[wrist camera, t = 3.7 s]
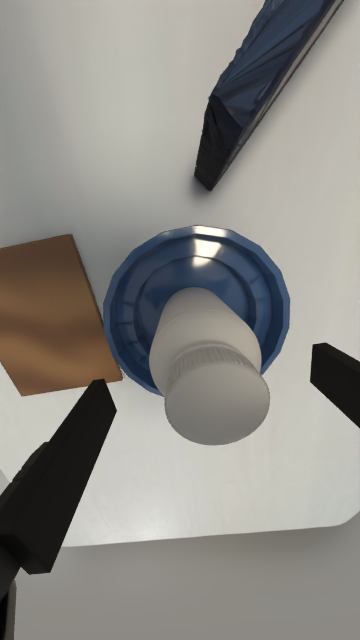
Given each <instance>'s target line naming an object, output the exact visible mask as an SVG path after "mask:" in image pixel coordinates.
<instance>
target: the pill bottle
mask: <svg viewBox="0 0 360 640" xmlns="http://www.w3.org/2000/svg"><path fill="white" fill-rule="evenodd" d="M149 365H150V371H151V375H152V378H153V381H154V383H155V385H156V386H157V388H158V390H159V391H160V392H161V393H162V395H163V396H164V397H165V411H166V415H167V419H168V421H169V423H170V424H171V426H172V427H173V428H174V429H175V431H176V432H177V433H179V434H180V435H181V436H183V437H184V438H186V439H188V440H190V441H192V442H195V443H199V444H203V445H224V444H229V443H233V442H236V441H238V440H241V439H243V438H245V437H246V436H248V435H250V434H251V433H252V432H254V431H255V430H256V429H257V428H258V427H259V426H260V425H261V423H262V422H263V421H264V419H265V417H266V415H267V413H268V410H269V405H270V396H269V395H270V393H269V389H268V386H267V384H266V382H265V380H264V379H263V377H262V376H261V374H260V369H261V351H260V347H259V343H258V340H257V338H256V336H255V334H254V333H253V331H252V330H251V329H250V327H249V326H248V325H247V324H246V323H245V322H244V321H243V320H242V319H241V318H240V317H239V316H238V315H237V314H235V313H234V312H233V311H232V310H231V309H230V308H229V307H228V306H227V305H226V304H225V303H224V302H223V301H222V300H221V299H220V298H219V297H217V296H216V295H215V294H214V293H213V292H211V291H209V290H207V289H204V288H200V287H188V288H184V289H182V290H179V291H178V292H176V293H175V294H173V295H172V296H171V297H170V298H169V300H168V301H167V302H166V304H165V306H164V309H163V312H162V315H161V318H160V321H159V324H158V327H157V330H156V333H155V336H154V339H153V343H152V346H151V350H150V356H149Z"/></svg>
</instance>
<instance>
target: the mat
mask: <svg viewBox="0 0 360 640" xmlns="http://www.w3.org/2000/svg"><path fill="white" fill-rule="evenodd" d="M0 362H1V364H2V366H3V367H4V369H5V370H6V372H7V374H8V375H9V377H10V378H11V380H12V382H13V383H14V385H15V387H16V388H17V390H18V391H19V393H20V395H21V396H28V395H34V394H41V393H47V392H53V391H60V390H66V389H72V388H78V387H85V386H89V385H90V383H91V382H92V381H93V380H97V379H103V378H104V379H105V382H106V383H110V382H116V381H122V379H123V377H122V374H121V371H120V368H119V366H118V363H117V362H116V360H115V359H114V358H113V356H112V353H111V351H110V348H109V345H108V342H107V340H106V337H105V334H104V324H103V321H102V318H101V315H100V312H99V310H98V307H97V304H96V301H95V298H94V296H93V293H92V290H91V287H90V285H89V282H88V279H87V276H86V273H85V271H84V268H83V265H82V262H81V259H80V257H79V254H78V251H77V248H76V245H75V243H74V240H73V237H72V235H70V234H67V235H62V236H58V237H53V238H48V239H44V240H39V241H34V242H30V243H25V244H20V245H15V246H11V247H6V248H1V249H0Z"/></svg>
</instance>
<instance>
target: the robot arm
mask: <svg viewBox="0 0 360 640" xmlns="http://www.w3.org/2000/svg"><path fill="white" fill-rule="evenodd" d="M310 382H311V383H312V384H313V385H314V386H315V387H316V388H317V389H318V390H319V391H320V392H321V393H323V394H324V395H325V396H326V397H327V398H328V399H329V400H330V401H331V402H332V403H333V404H334V405H335V406H336V407H338V408H339V409H340V410H341V411H342V412H343V413H344V414H345V415H346V416H347V417H348V418H349V419H350V420H351V421H353V422H354V423H355V424H356V425H357V426H358V427H359V428H360V362H359V361H358V360H356V359H354V358H352V357H351V356H349V355H347V354H345V353H343V352H342V351H340V350H338V349H336V348H335V347H333V346H331V345H329V344H328V343H320V344H313V347H312V361H311V375H310ZM116 412H117V410H116V407H115V405H114V402H113V400H112V397H111V394H110V392H109V389H108V387H107V384H106V382H105V379H104V378H103V379H97V380H93V381H92V382H91V383H90V385H89V386H88V388H87V389H86V390H85V392H84V393H83V395H82V396H81V397H80V399H79V400H78V402H77V403H76V404H75V406H74V407H73V409H72V410H71V411H70V413H69V414H68V416H67V417H66V418H65V420H64V421H63V423H62V424H61V425H60V427H59V428H58V429H57V431H56V432H55V434H54V435H53V436H52V438H51V439H50V441H49V442H44V443H43V444H42V445H41V446H40V447H39V448H38V449H37V450H36V451H35V452H34V453H32V455H31V456H30V457H29V458H28V460H27V461H26V462H25V464H24V465H23V466H22V469H21V470H20V471H19V472H18V473H17V474H16V476H15V477H14V478H13V481H12V482H11V483H10V484H9V485H8V486H7V488H6V489H5V490H4V492H3V493H2V494H1V495H0V640H14V624H15V606H16V605H15V604H16V583H15V580H14V578H15V576H16V575H17V573H18V571H19V569H20V567H22V568H23V569H24V570H25V571H26V572H27V573H28V574H29V575H31V574H41V573H50V572H51V570H52V567H53V565H54V562H55V560H56V557H57V555H58V553H59V550H60V548H61V545H62V543H63V540H64V538H65V536H66V533H67V531H68V528H69V526H70V523H71V521H72V519H73V516H74V514H75V511H76V509H77V507H78V504H79V502H80V499H81V497H82V494H83V492H84V490H85V487H86V485H87V482H88V480H89V477H90V475H91V473H92V470H93V468H94V465H95V463H96V460H97V458H98V456H99V453H100V451H101V448H102V446H103V443H104V441H105V439H106V436H107V434H108V431H109V429H110V427H111V424H112V422H113V419H114V417H115V414H116Z"/></svg>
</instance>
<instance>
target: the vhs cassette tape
mask: <svg viewBox="0 0 360 640" xmlns="http://www.w3.org/2000/svg"><path fill="white" fill-rule="evenodd" d="M343 1H344V0H265V3H264V5H263V8H262V9H261V11H260V12H259V14H258V15H257V16H256V18H255V19H254V21H253V23H252V25H251V28H250V30H249V33H248V35H247V36H246V38H245V39H244V40H243V43H242V46H241V48H239V49H237V50H236V55H235V57H234V59H233V61H231V62H230V63H229V66H228V67H227V68H226V70H225V71H224V72H223V73H222V74H221V75H220V78H219V80H218V82H217V84H216V86H215V88H214V89H213V91H212V93H211V95H210V96H209V102H208V105H207V109H206V111H205V114H204V124H203V130H202V132H203V133H202V136H201V140H200V146H199V151H198V156H197V161H196V167H195V172H194V176H195V177H196V178H197V179H198V180H199V181H200V182H201V183H202V184H203V185H204V186H206V188H207V189H208V190H209V191H212V189H213V188H214V187H215V185H216V184H217V182H218V181H219V180H220V178H221V177H222V176H223V174H224V173H225V171H226V170H227V168H228V167H229V166H230V164H231V163H232V161H233V160H234V158H235V157H236V156H237V154H238V153H239V151H240V150H241V148H242V147H243V146H244V144H245V143H246V141H247V140H248V139H249V137H250V136H251V134H252V133H253V131H254V130H255V128H256V127H257V125H258V124H259V123H260V121H261V120H262V118H263V117H264V115H265V114H266V112H267V111H268V110H269V108H270V107H271V105H272V104H273V102H274V101H275V100H276V98H277V97H278V95H279V94H280V92H281V91H282V89H283V88H284V87H285V85H286V84H287V82H288V81H289V79H290V78H291V77H292V75H293V74H294V72H295V71H296V69H297V68H298V66H299V65H300V64H301V62H302V61H303V59H304V58H305V56H306V55H307V54H308V52H309V51H310V49H311V48H312V46H313V45H314V43H315V42H316V40H317V39H318V37H319V36H320V34H321V33H322V31H323V30H324V29H325V27H326V26H327V24H328V23H329V21H330V20H331V18H332V17H333V15H334V14H335V13H336V11H337V10H338V8H339V7H340V5H341V4H342V2H343Z"/></svg>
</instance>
